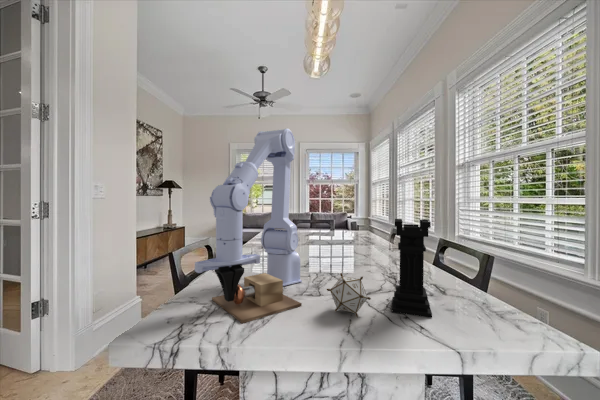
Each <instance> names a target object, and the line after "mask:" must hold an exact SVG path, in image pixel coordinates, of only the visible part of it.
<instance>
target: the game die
mask: <svg viewBox="0 0 600 400" xmlns="http://www.w3.org/2000/svg"><path fill="white" fill-rule="evenodd" d="M363 279H364V275H362V276H360V278H356V277H349V276H344V275H343V273H342V272H340V277H339V279H338V280H337V281H336V282H335V284H333V286H332V287H331V288H326V290H327V292H330V294H331V297H332V299H333V302H334V304H335V307H336V308H335V309H334V312H338V310H340V311H342V312H343V311H344V312H348V313H352V314H355V317H356V318H358V316H359V314H358V311H360V309H361V308H362V306H363V305H364V304H365V302H366V301H367V300H368V301H370V300H372V298H371V297H370V296H368V295H367V293H366V290H365V288H364V285H363V282H362V280H363Z"/></svg>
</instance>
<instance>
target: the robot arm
mask: <svg viewBox="0 0 600 400" xmlns="http://www.w3.org/2000/svg"><path fill="white" fill-rule="evenodd" d="M253 141H254V146H253V147H252V149H251V151H250V152H249V154H248V155H247V157H246V159H245V161H244V160H243V161H239V162H236V164H235V165H234V168H233V169H232V171H231V173H230V174H229V175H228V177H226V179H225V180H224V182H223V184H220V185H219V184H218V185H217V186H215V188H214V189H213V190H212V192H211V196H209V202H210V203H209V204H210V206H211V207H212V209H213V216H214V218H215V257H213V258H210V259H205V260H200V261H199V260H198V261H195V262H194V272H195V273H197V274H202V273H203V272H208V271H214V273H215V274H216V276H217V278H218V280H219V283H220V285H221V288H222V293H223V295H224V298H225V300H226V301H228V302H229V301H233V300H234V296H235V292H236V289H237V286H238V284H239V283H240V281H241V279H242V277H243V275H244V273H245V267H243V266H247V265H252V264H253V265H256V264H257V265H258V264H260V263H261V255H260V254H257V253H253V254H243V239H244V238H243V232H244V231H243V230H244V229H243V223H244V222H243V219H244V218H243V213H244V211H243V210H245V209H246V208H247V206H248V204H249V198H250V197H249V195H250V193H251V188H253V186H254V184H255V183H256V180H257V179H258V178H259V170H258V169H259V168H260V167H261V165H262V164H263V163H264V161H265V160H266V161H267V162H269V163H271V164H272V166H273V173H272V192H271V193H272V194H271V195H272V196H271V211H270V212H271V213H270V214H271V216H270V219H269V220H268V221H266V222H265V223H264V224H263V230H262V234H261V238H260V243H261V246H262V248H263V249H264V251H265V253H267V254H266V256H267V257H266V265H267V267H266V270H267V271H266V274H269V275H271V276H274V277H276V278H278V279H281V280H283V287H284V286H285V287H286V286H288V285H294V284H298V283H302V279H301V257H300V255H299V253H298V252H297V251H296V250H297V248H298V245H299V236H298V226H297V225H296V223H294V222H292V220H290V218H289V216H290V197H291V196H290V195H291V194H290V193H291V192H290V191H291V170H292V169H291V168H292V167H291V166H292V161H294V160H295V154H296V139H295V137H294V134H293V131H292V130H291V129H290V128H284V129H276V130H269V131H268V130H267V131H258V133H257V134H256V136H254V138H253Z"/></svg>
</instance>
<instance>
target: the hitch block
mask: <svg viewBox="0 0 600 400" xmlns="http://www.w3.org/2000/svg"><path fill="white" fill-rule="evenodd" d="M243 281H244V282H243V287H248V286H253V285H254V286H255V296H252V297H248V298H244V299H243V302H242V303H241V304H235V303H234V302H233V301H229V302H228V301H226V300H225V298H224V294H222V295H217V296H213V297H212V298H211V301H213V302H214V303H215V304H217V306H219V307H220V308H222V309H223V310H224V311H225V312H227V313H228V314H229V315H230V316H231V317H234V318H235V320H237V321H238V322H240V323H241V324H244V323H248V322H252V321H255V320H258V319H262V318H265V317H268V316H273V315H275V314H276V315H277V314H279V313H282V312H286V311H288V310H292V309H295V308H299V307H302V306H303V305H302V303H303V302H300V301H298V300H295V299H293V298H292V297H289V296H288V295H285V294H284V286H283V280H281V279H278V278H276V277H274V276H271V275H269V274H267V272H264V273H259V274H254V275H253V274H252V275H247V276H243Z"/></svg>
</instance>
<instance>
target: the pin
mask: <svg viewBox="0 0 600 400" xmlns="http://www.w3.org/2000/svg"><path fill="white" fill-rule="evenodd" d="M252 296H255V286H254V285H253V286H248V287H244V286H243V287H242V286H241V284H239V283H238V286H237V289H236V292H235V296H234V300H233V302H234V303H235V304H241V303H242V302H243V299H244V298H248V297H252Z"/></svg>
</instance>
